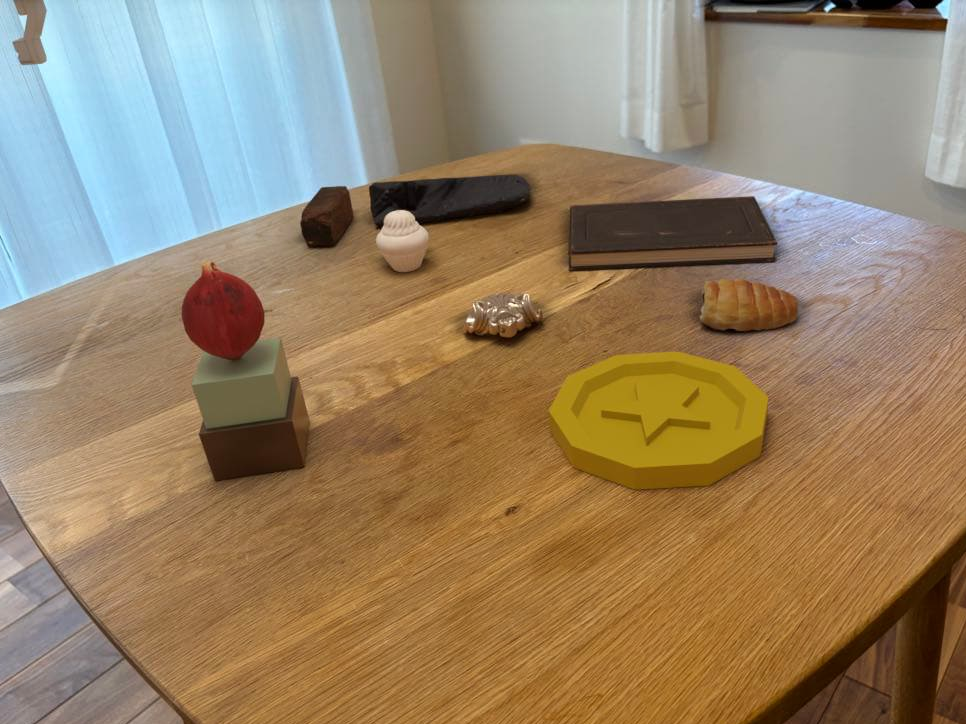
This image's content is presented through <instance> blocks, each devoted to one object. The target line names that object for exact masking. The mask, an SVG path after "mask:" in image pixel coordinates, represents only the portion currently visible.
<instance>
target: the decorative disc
mask: <svg viewBox="0 0 966 724" xmlns="http://www.w3.org/2000/svg"><path fill="white" fill-rule="evenodd" d="M769 398H770V397H769V396H768V395H767V394H766V393H765V392H764V391H763V390H762V389H760V388H759V387H758V386H757V385H756V384H755V383H754V382H753V381H752V380H751V379H750V378H749V377H747V376H746V375H745V374H744V373H743V372H742V371H741V370H739V368H738V367H736V366H735V365H733V364H727V363H725V362H724V363H723V362H720V361H716V360H713V359H708V358H705V357H701V356H697V355H692V354H688V353H685V352H681V351H679V350H678V351H677V350H676V351H661V352H660V351H659V352H645V353H630V354H628V353H627V354H616V355H613V356H611V357H608V358H606V359H604V360H602V361H599V362H597V363H595V364H593V365H591V366H588V367H585V368H583V369H581V370H579V371H576V372H574V373H572V374H570V375H567V376H566V378H565V380H564V381H563V384H562V386H561V387H560V389H559V391H558V393H557V395H556V396H555V398H554V400H553V402H552V404H551V405H550V407H549V409H548V419H549V421H548V422H549V431H550V433H551V435H552V436H553V438H554V439H555V441H556V443H557V445H558V446H559V448H560V449H561V451H562V452H563V454H564V455H565V457H566V458H567V460H568V462H569V464H570V465H571V466H572V468H573V469H576V470H579V471H582V472H585V473H588V474H590V475H592V476H596V477H599V478H601V479H604V480H607V481H609V482H613V483H614V484H618V485H621V486H623V487H625V488H628V489H632V490H634V491H637V490H655V489H671V488H672V489H675V488H689V487H706V486H707V487H708V486H711V485H713V484H714V483H717V482H718V481H720V480H721V479H723V478H725V477H727V476H729V475H730V474H732V473H733V472H735V471H737V470H739V469H740V468H743V467H744V466H746V465H748V464H750V463H751V462H753V461H755V460H756V459H759V458H760V457H761V455H762V454H761V453H762V449H763V442H764V436H765V430H766V425H767V420H768V411H769V410H768V407H769Z"/></svg>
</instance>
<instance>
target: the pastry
mask: <svg viewBox="0 0 966 724" xmlns="http://www.w3.org/2000/svg"><path fill="white" fill-rule="evenodd" d="M703 285H704V286H703V288H702V292H701V300H702V306H701V308H700V313H701V315H700V316H699V320H700V322H701V323H702V324H704V325H706V326H707V327H710V328H711V329H713V330H719V331H726V330H728V329H733V330H735V331H736V332H748V331H751V330H753V331H757V332H759V331H760V330H765V331H767V330H771V329H772V330H773V329H777V328H780V327H783V326H785V325H787V324H791V323H794V322H795V320H796V319H797V318H798V314H799V307H798V304H799V302H798V301H799V300H798V298H797V297H796V296H795V295H793V294H791V293H790V292H788V291H786V290H783V289H777V288H776V287H774V286H771V285H765V284H763V283H761V282H750V281H749V280H747V279H745V278H739V279H738V280H733V279H730V278H726V277H725V278H721V279H719V281H715V280H705V281H704V284H703Z"/></svg>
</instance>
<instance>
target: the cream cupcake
mask: <svg viewBox="0 0 966 724" xmlns="http://www.w3.org/2000/svg"><path fill="white" fill-rule="evenodd" d="M410 212H411V211H409V210H406V211H405V210H397V211H393V212H390V213H389V214H387V215H386V216H385V219H384V226H381V230H380V231H379V232H378V234H377V236H376V238H375V245H376V247H377V249H379V252H380V254H381V256H382V257H383V259H384V260H385V261H386V262H387V263H388V265H389V266H390V267H391V268H392V269H393V271H395V272H398V273H410V272H414V271H416V270H418V269H419V268H420V267H421V266H422V263H423V260H424V257H425V255H426V252H427V250H428V246H429V245H428V243H429V241H430V235H429V232H428V231H427V229H426V228H424V227H423V226H422V225H420V223H418V222H417V221H415V217H414V216H413V214H411V213H410Z"/></svg>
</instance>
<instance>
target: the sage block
mask: <svg viewBox="0 0 966 724" xmlns="http://www.w3.org/2000/svg"><path fill="white" fill-rule="evenodd" d="M291 377H292V376H291V372H290V367H289V363H288V360H287V357H286V353H285V349H284V345H283V340H282V337H280V336H279V337H271V338H264V339H258V341H257V342H256V343H255V345H254V346H253V347H252V348H251V349H250V350H248V351H247V352H246V353H245V354H244V355H243V356H242V357H241V358H240V359H238V360H235V361H231V360H227V359H223V358H220V357H216V356H213V355H210V354H208V353H207V352H205V351H203V350H202V354H201V356H200V359H199V362H198V365H197V367H196V371H195V373H194V376H193V380H192V382H191V388H192V391H193V394H194V397H195V400H196V403H197V406H198V409H199V411H200V415H201V418H202V422H203V421H204V424H205V427H206V429H211V428H218V427H224V426H231V425H238V424H245V423H252V422H259V421H265V420H272V419H279V418H285V417H286V411H287V405H288V399H289V392H290V386H291V380H292V379H291Z"/></svg>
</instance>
